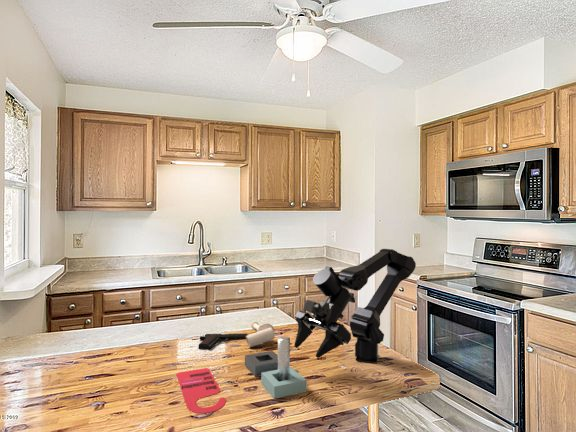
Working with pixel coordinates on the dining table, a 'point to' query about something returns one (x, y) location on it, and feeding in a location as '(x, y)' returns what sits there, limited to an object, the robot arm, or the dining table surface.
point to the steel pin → (283, 358)
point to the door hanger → (199, 389)
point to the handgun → (218, 339)
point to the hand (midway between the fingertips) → (305, 351)
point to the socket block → (261, 362)
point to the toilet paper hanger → (260, 334)
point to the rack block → (283, 383)
